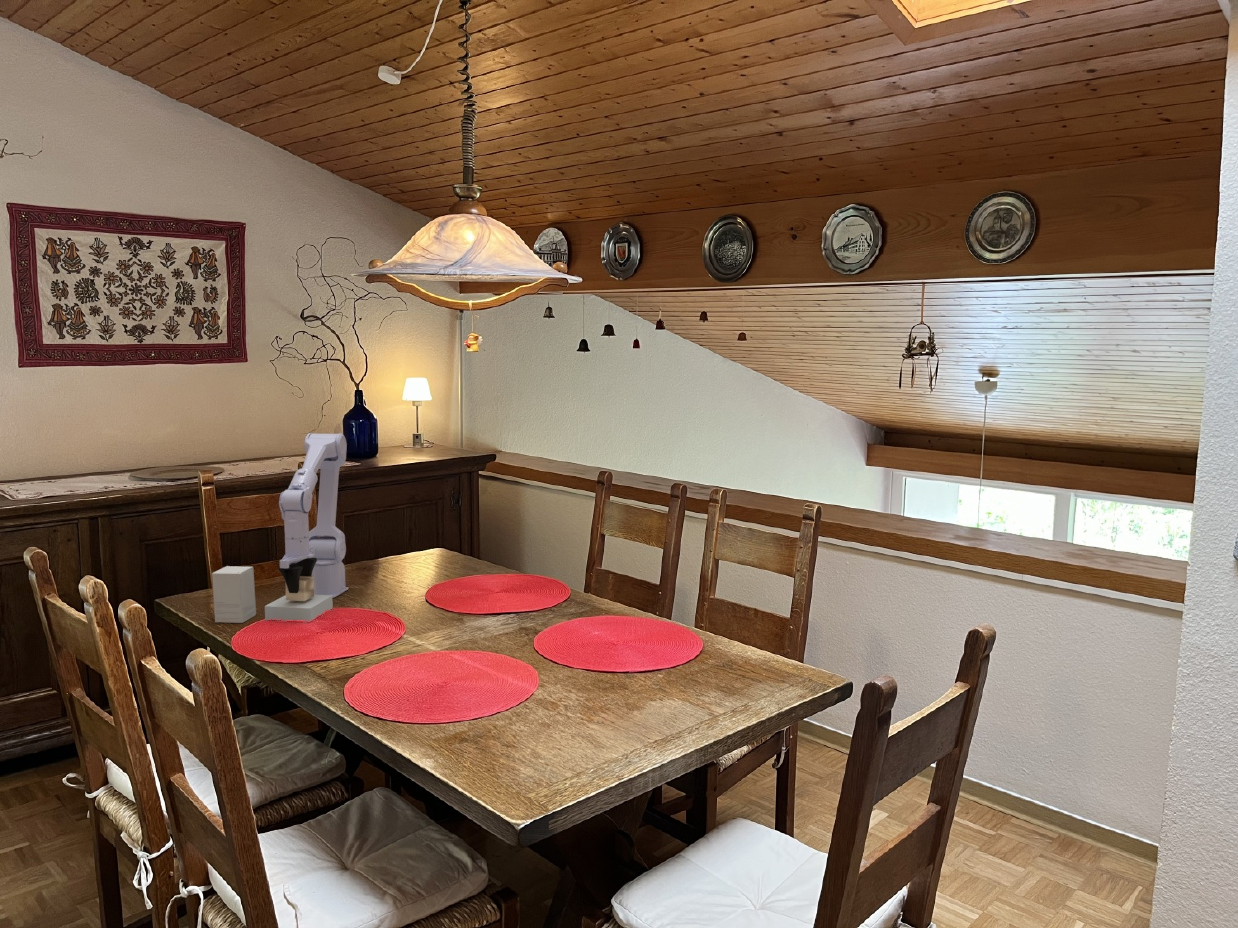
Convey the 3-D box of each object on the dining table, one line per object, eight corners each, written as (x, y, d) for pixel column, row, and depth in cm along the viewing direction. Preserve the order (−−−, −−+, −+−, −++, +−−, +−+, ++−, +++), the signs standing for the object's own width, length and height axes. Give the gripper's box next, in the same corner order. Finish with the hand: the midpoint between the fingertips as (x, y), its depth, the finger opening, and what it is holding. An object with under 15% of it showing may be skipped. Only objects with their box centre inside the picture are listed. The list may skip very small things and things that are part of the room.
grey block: (289, 608, 239) (288, 593, 238) (332, 610, 237) (332, 595, 236) (265, 621, 227) (264, 606, 226) (310, 624, 225) (310, 608, 225)
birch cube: (295, 594, 234) (295, 575, 233) (314, 595, 233) (313, 576, 233) (285, 600, 229) (285, 580, 229) (304, 601, 228) (304, 581, 228)
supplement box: (257, 614, 231) (254, 566, 230) (242, 623, 224) (239, 573, 222) (229, 613, 232) (226, 565, 230) (213, 622, 225) (210, 572, 223)
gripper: (298, 543, 222) (300, 598, 223) (325, 531, 236) (327, 582, 238) (270, 542, 223) (273, 596, 224) (299, 530, 237) (301, 581, 239)
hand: (299, 589), depth 231 cm, fingers open, 5 cm apart
